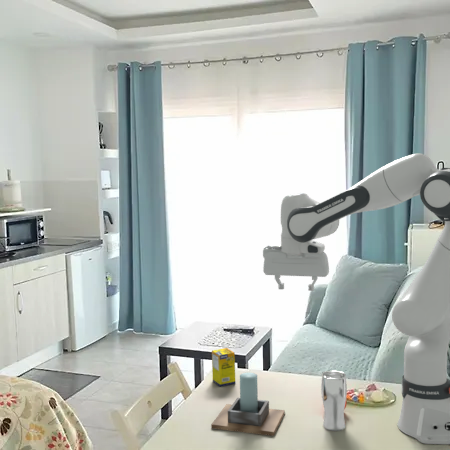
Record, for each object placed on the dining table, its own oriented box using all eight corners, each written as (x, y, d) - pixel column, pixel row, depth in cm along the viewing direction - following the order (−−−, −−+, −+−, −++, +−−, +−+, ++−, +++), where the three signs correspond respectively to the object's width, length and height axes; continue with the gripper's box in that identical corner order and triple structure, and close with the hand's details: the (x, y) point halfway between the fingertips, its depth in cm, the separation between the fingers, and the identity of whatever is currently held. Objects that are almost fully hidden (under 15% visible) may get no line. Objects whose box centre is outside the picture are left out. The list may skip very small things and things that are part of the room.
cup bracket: (284, 414, 171) (284, 399, 171) (273, 436, 158) (273, 419, 157) (226, 407, 177) (226, 393, 176) (211, 428, 164) (210, 412, 163)
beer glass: (347, 432, 159) (346, 379, 157) (321, 431, 160) (320, 378, 158) (346, 421, 165) (346, 370, 164) (322, 419, 167) (321, 369, 165)
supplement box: (235, 383, 195) (235, 352, 194) (219, 387, 193) (218, 355, 192) (228, 377, 201) (227, 347, 200) (212, 381, 198) (211, 350, 197)
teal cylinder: (260, 413, 169) (259, 373, 167) (255, 420, 164) (254, 380, 162) (243, 410, 170) (242, 371, 169) (238, 418, 166) (237, 378, 164)
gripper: (260, 246, 180) (261, 290, 181) (326, 248, 173) (327, 293, 175) (265, 243, 186) (266, 286, 187) (329, 244, 179) (330, 288, 181)
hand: (296, 289), depth 181 cm, fingers open, 8 cm apart
